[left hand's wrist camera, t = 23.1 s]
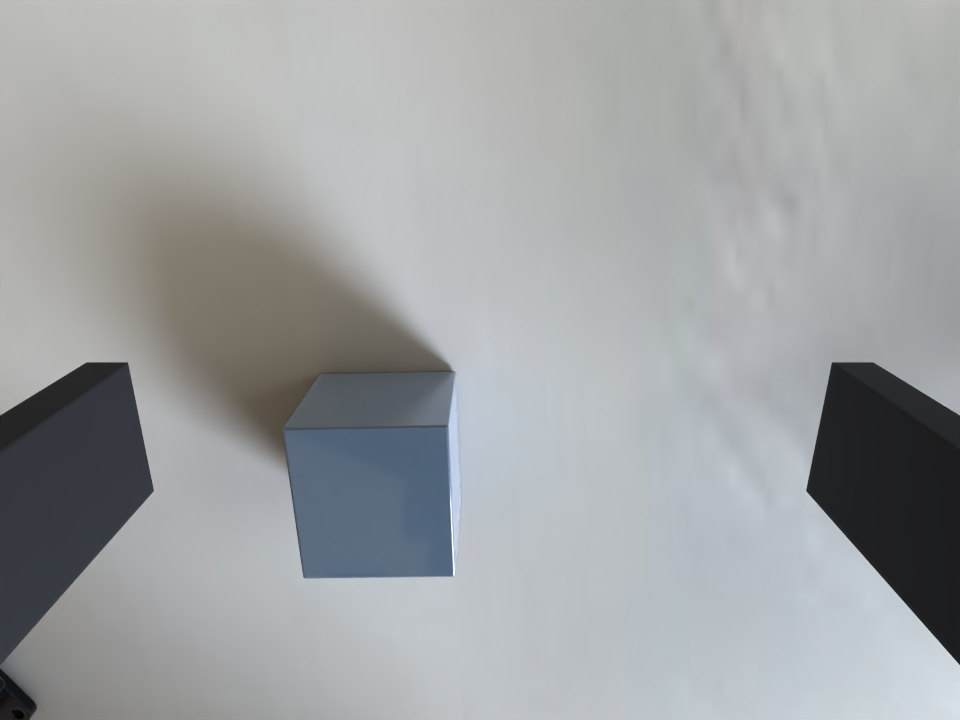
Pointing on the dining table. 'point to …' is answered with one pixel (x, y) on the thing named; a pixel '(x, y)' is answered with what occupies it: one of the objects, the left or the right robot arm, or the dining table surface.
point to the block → (376, 475)
